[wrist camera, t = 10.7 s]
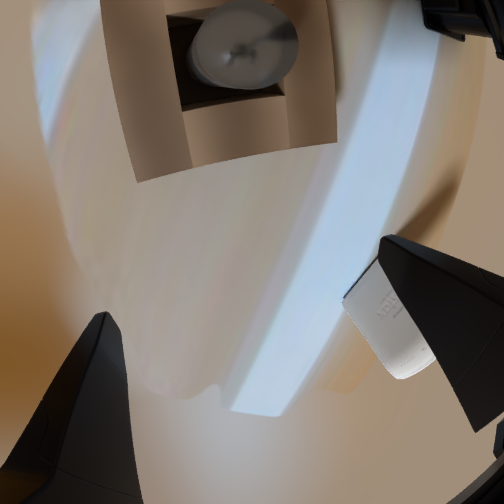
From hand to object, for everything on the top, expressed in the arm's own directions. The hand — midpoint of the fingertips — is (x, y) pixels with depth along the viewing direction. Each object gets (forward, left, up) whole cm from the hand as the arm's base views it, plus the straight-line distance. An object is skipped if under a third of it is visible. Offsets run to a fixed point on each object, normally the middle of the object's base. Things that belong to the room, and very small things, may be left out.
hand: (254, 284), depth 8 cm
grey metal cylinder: (-2, -7, -13) cm, 15 cm away
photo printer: (-16, +16, -13) cm, 26 cm away
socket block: (-2, -7, -13) cm, 15 cm away
